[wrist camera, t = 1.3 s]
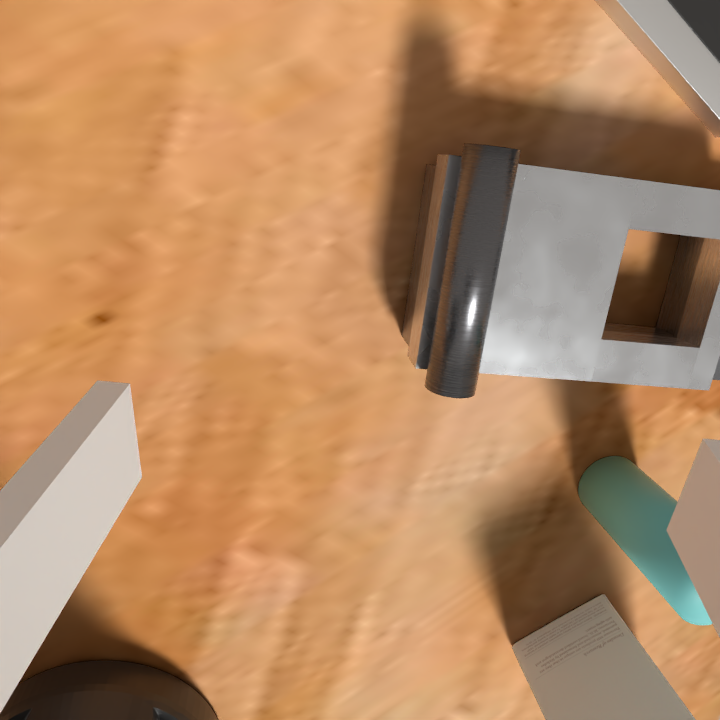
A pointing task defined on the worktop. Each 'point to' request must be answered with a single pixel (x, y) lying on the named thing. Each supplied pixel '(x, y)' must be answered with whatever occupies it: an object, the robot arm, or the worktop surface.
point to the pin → (641, 529)
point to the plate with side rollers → (555, 276)
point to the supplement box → (595, 669)
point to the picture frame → (678, 47)
